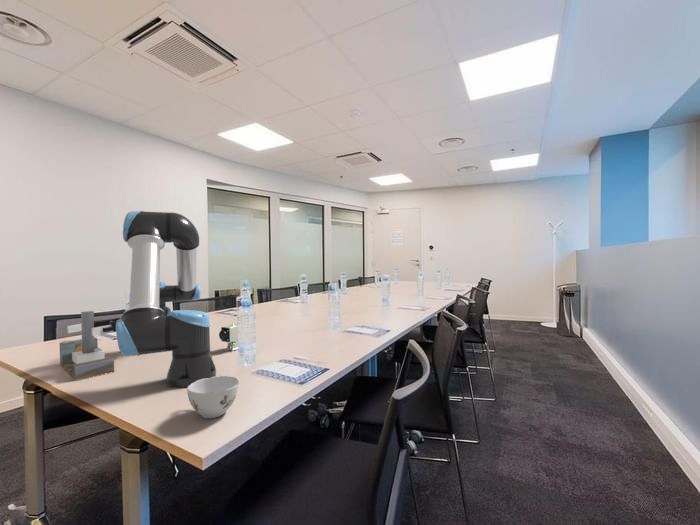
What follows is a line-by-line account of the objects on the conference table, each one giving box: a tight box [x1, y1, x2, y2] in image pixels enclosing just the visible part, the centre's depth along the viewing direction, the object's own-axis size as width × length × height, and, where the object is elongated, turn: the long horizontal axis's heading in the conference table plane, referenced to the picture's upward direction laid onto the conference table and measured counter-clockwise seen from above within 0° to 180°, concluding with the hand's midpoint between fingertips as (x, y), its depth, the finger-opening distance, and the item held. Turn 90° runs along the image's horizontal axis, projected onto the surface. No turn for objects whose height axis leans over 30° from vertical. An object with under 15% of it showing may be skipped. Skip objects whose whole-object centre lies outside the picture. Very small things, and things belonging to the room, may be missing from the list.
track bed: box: [59, 336, 115, 382], centre depth 123 cm, size 27×11×9 cm, turn 50°
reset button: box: [75, 345, 82, 352], centre depth 129 cm, size 7×4×4 cm, turn 50°
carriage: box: [72, 310, 106, 364], centre depth 121 cm, size 8×8×20 cm
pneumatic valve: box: [218, 322, 239, 352], centre depth 146 cm, size 6×12×12 cm, turn 150°
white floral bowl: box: [186, 375, 240, 419], centre depth 86 cm, size 15×12×8 cm
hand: (79, 330), depth 118 cm, fingers open, 13 cm apart
